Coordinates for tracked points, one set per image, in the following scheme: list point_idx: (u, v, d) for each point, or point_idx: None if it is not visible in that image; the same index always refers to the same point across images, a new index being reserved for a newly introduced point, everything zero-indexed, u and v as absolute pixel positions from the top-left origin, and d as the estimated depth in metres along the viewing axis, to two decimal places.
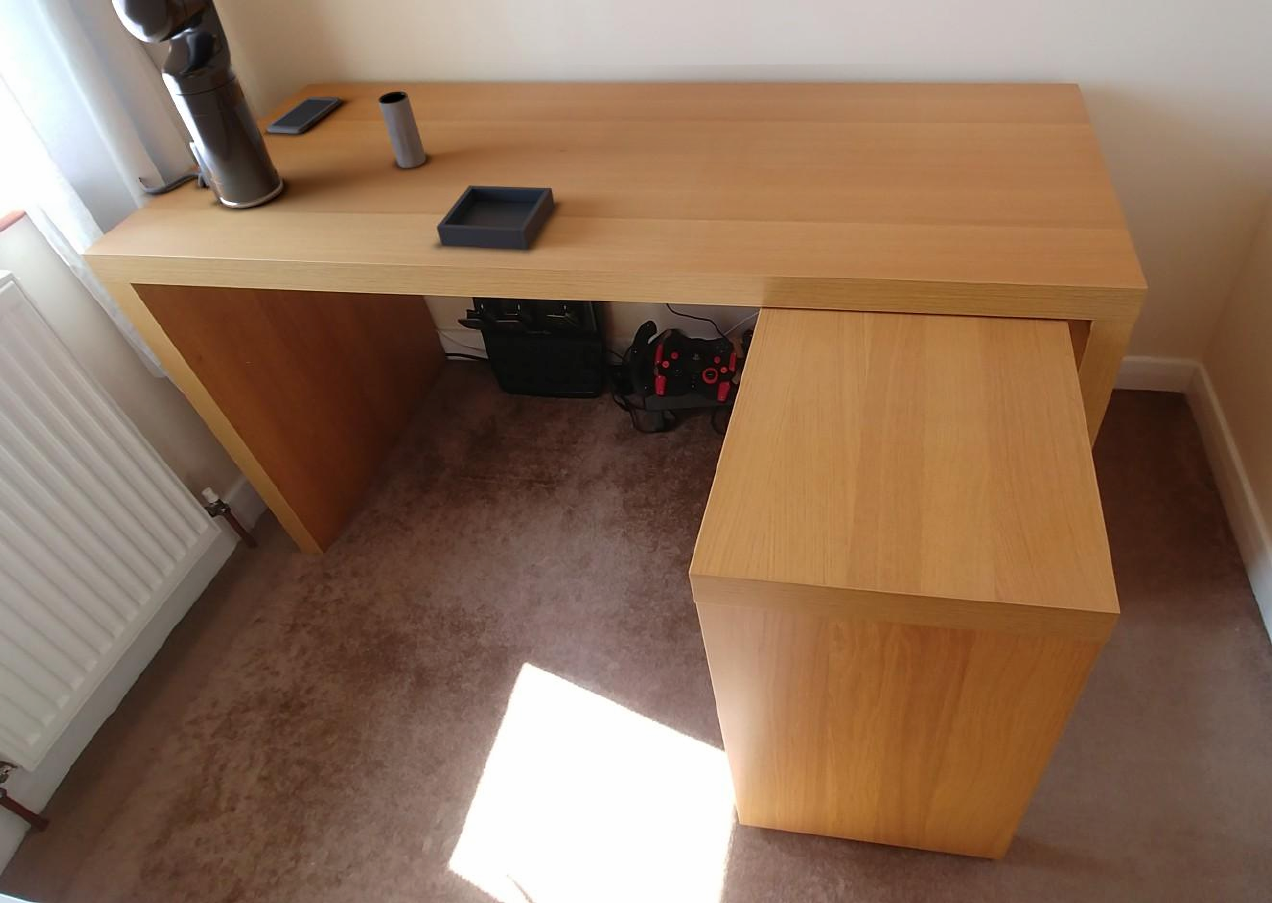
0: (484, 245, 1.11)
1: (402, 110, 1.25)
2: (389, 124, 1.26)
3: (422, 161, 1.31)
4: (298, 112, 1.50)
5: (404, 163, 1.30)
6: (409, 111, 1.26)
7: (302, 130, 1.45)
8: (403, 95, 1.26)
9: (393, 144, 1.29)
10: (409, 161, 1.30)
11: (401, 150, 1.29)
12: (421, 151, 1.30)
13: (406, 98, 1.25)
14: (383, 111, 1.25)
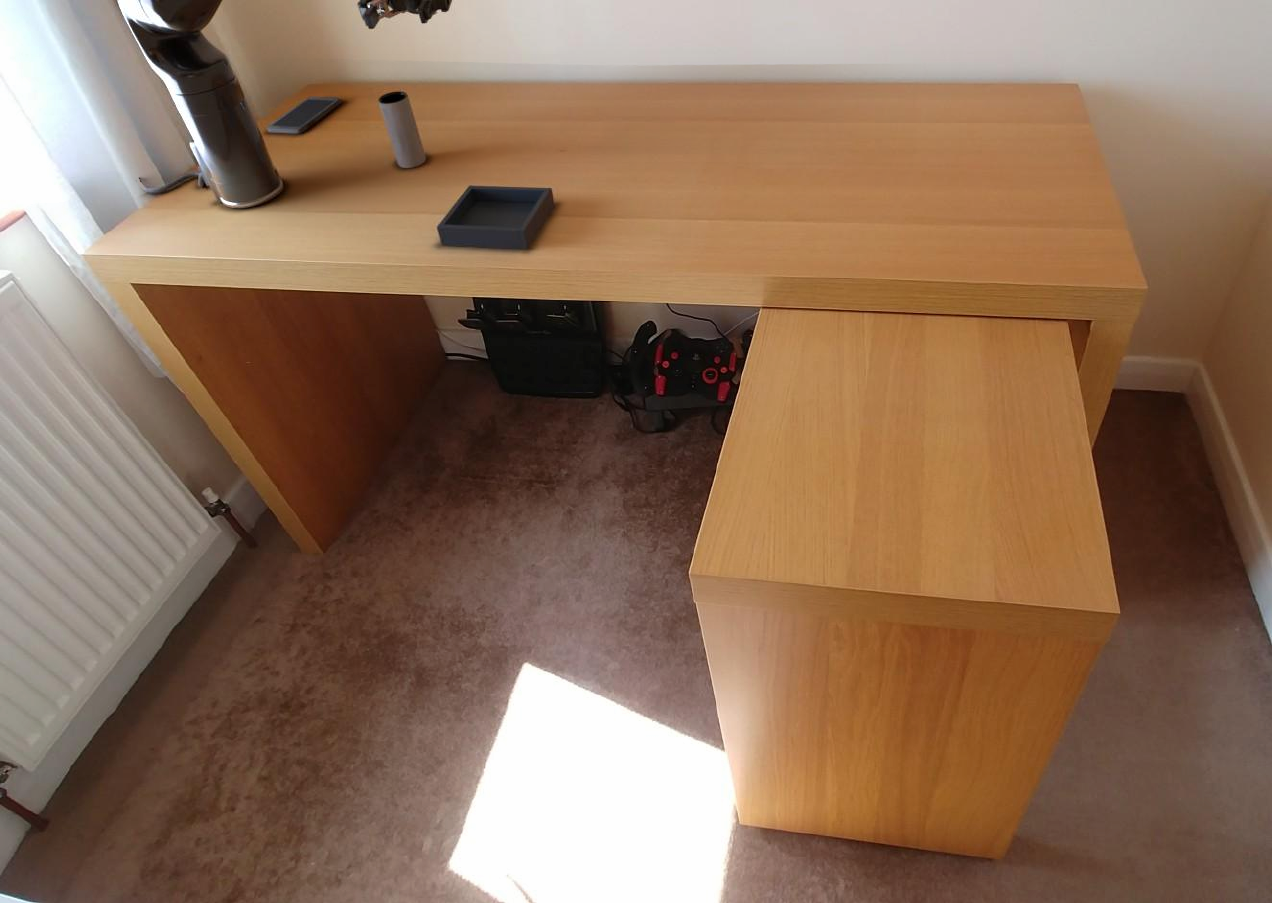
0: (484, 245, 1.11)
1: (402, 110, 1.25)
2: (389, 124, 1.26)
3: (422, 161, 1.31)
4: (298, 112, 1.50)
5: (404, 163, 1.30)
6: (409, 111, 1.26)
7: (302, 130, 1.45)
8: (403, 95, 1.26)
9: (393, 144, 1.29)
10: (409, 161, 1.30)
11: (401, 150, 1.29)
12: (421, 151, 1.30)
13: (406, 98, 1.25)
14: (382, 111, 1.25)
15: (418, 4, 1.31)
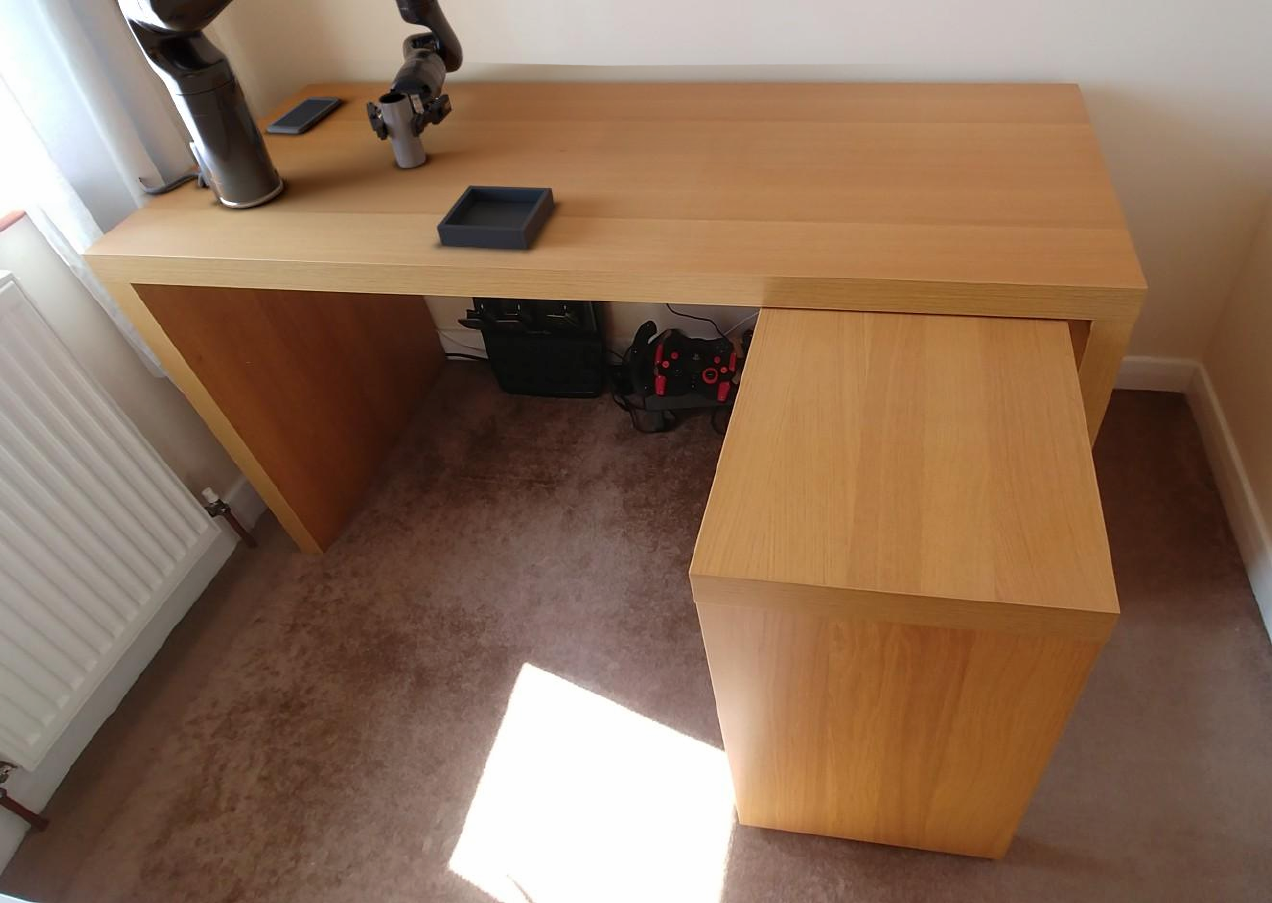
0: (484, 245, 1.11)
1: (402, 110, 1.25)
2: (389, 124, 1.26)
3: (422, 161, 1.31)
4: (298, 112, 1.50)
5: (404, 163, 1.30)
6: (409, 111, 1.26)
7: (302, 130, 1.45)
8: (403, 95, 1.26)
9: (393, 144, 1.29)
10: (409, 161, 1.30)
11: (401, 150, 1.29)
12: (421, 151, 1.30)
13: (406, 98, 1.25)
14: (382, 111, 1.25)
15: None
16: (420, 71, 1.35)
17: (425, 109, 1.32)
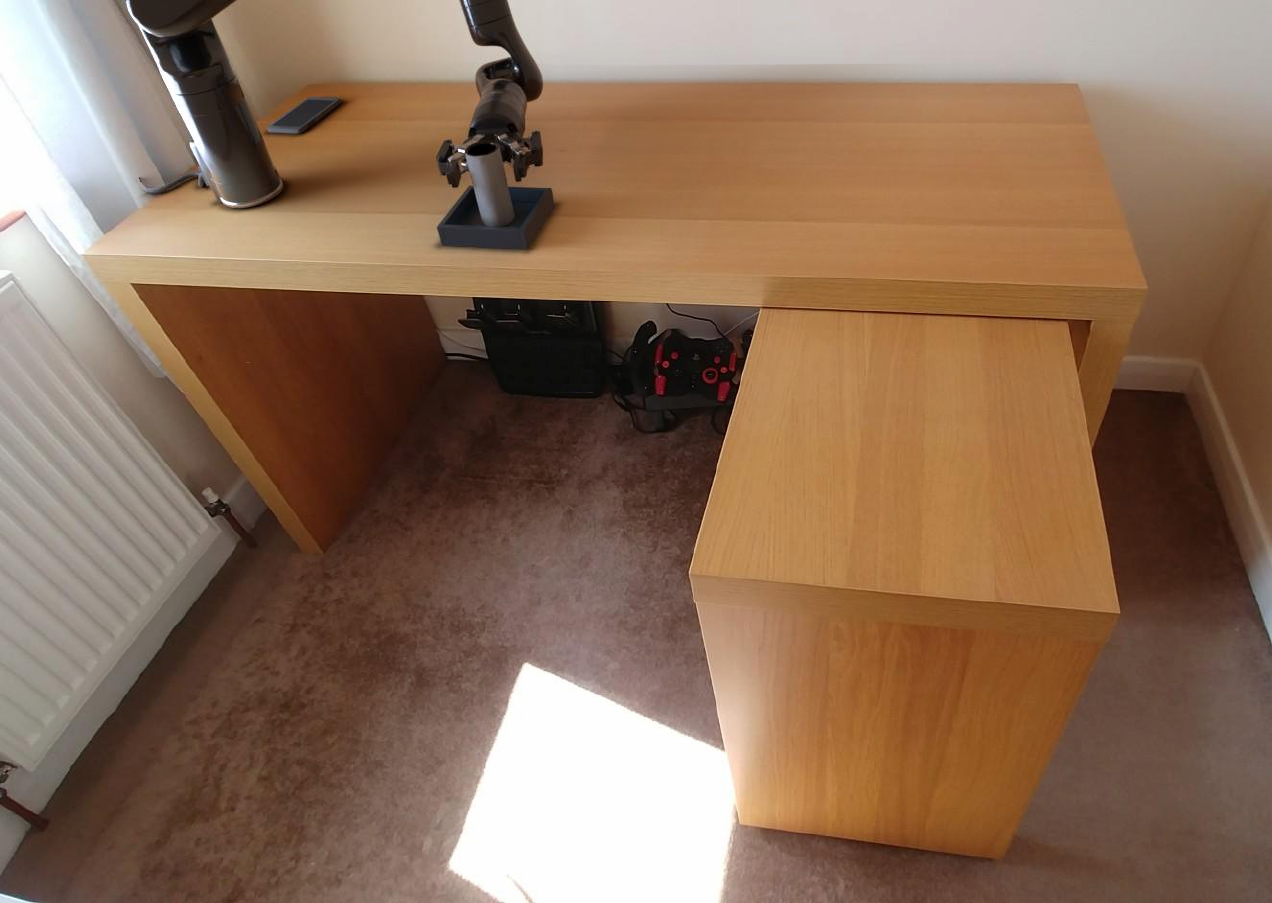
0: (484, 245, 1.11)
1: (493, 163, 1.07)
2: (477, 179, 1.08)
3: (511, 219, 1.14)
4: (298, 112, 1.50)
5: (491, 222, 1.13)
6: (500, 164, 1.08)
7: (302, 130, 1.45)
8: (493, 145, 1.09)
9: (479, 201, 1.11)
10: (497, 220, 1.12)
11: (488, 208, 1.11)
12: (510, 208, 1.13)
13: (498, 149, 1.07)
14: (470, 164, 1.07)
15: (506, 157, 1.13)
16: (504, 107, 1.17)
17: None
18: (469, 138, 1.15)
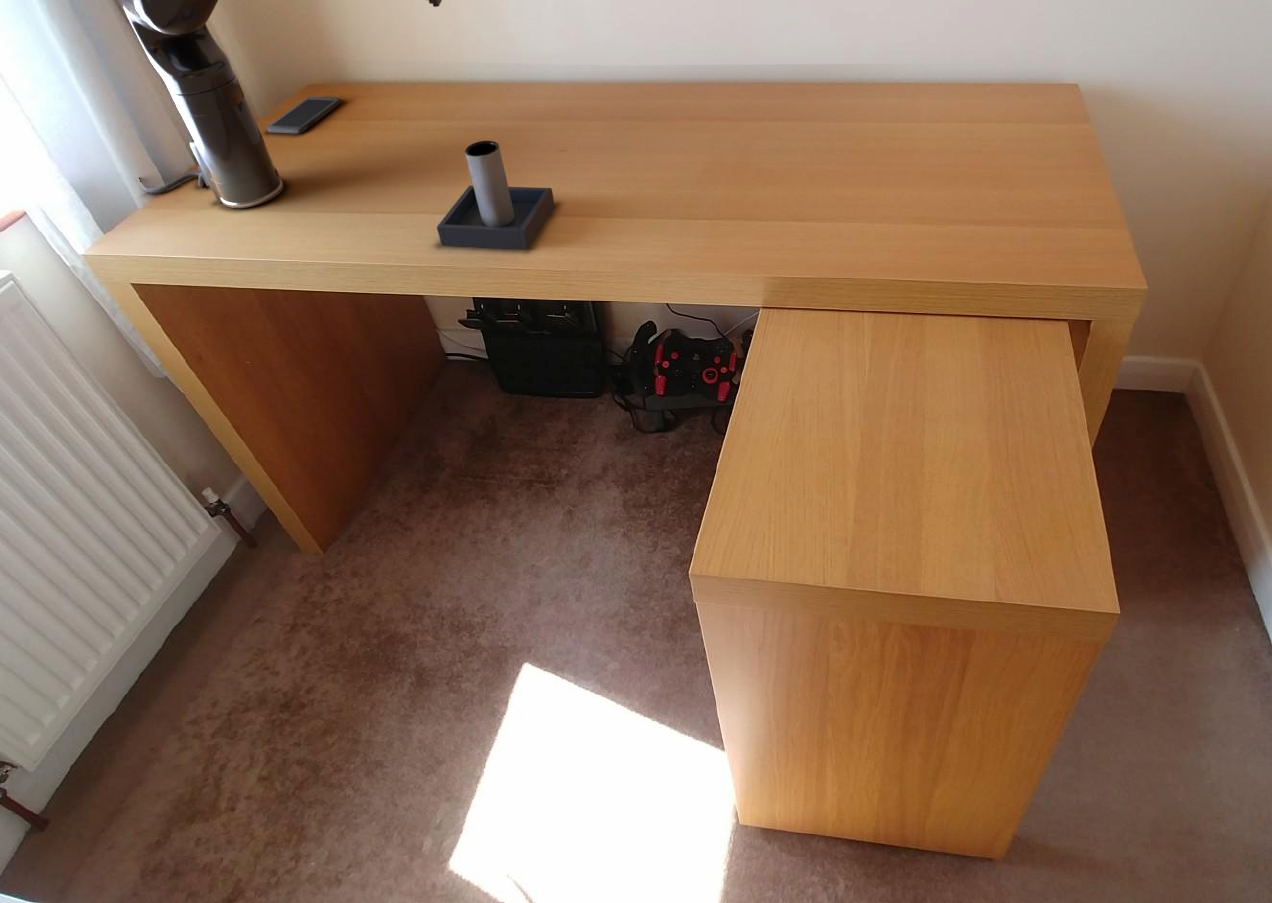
0: (484, 245, 1.11)
1: (493, 163, 1.07)
2: (477, 179, 1.08)
3: (511, 219, 1.14)
4: (298, 112, 1.50)
5: (491, 222, 1.13)
6: (500, 164, 1.08)
7: (302, 130, 1.45)
8: (493, 145, 1.09)
9: (479, 201, 1.11)
10: (497, 220, 1.12)
11: (488, 208, 1.11)
12: (510, 208, 1.13)
13: (498, 149, 1.07)
14: (470, 164, 1.07)
15: None
16: None
17: None
18: None
